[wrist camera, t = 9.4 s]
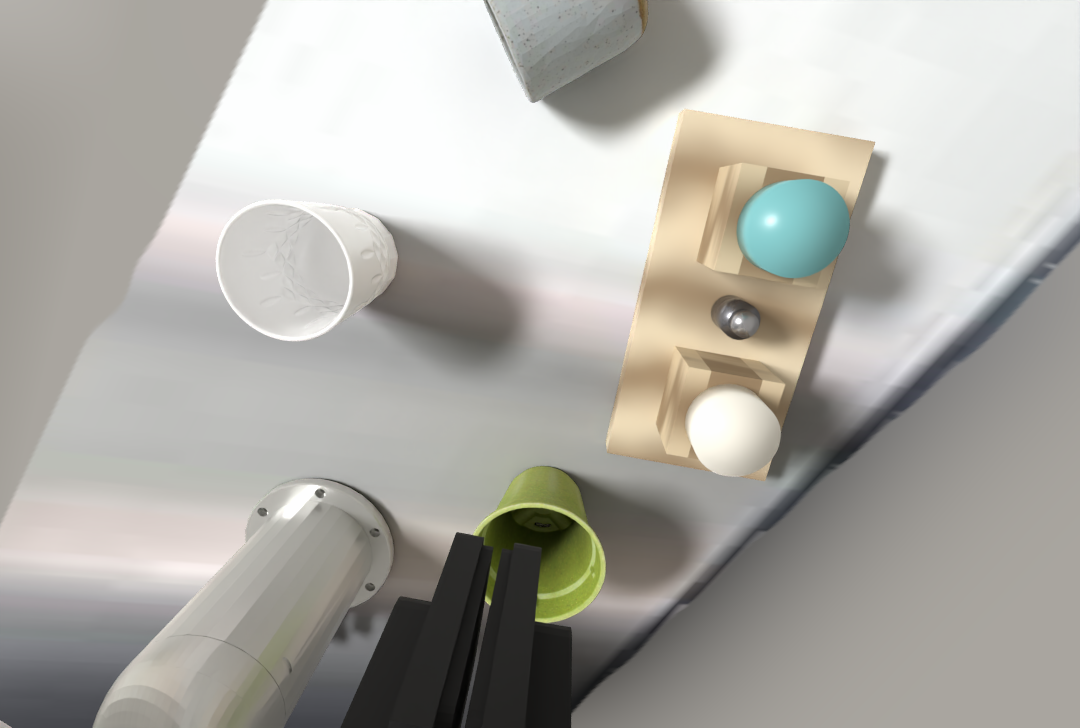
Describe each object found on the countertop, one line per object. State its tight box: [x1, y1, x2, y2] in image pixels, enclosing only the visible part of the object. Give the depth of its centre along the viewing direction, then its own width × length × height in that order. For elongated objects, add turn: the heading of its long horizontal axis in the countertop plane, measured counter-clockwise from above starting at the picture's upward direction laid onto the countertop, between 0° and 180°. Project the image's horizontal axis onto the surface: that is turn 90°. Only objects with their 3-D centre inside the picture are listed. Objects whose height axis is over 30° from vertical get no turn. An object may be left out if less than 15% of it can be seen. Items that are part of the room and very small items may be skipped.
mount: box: [606, 109, 875, 481], centre depth 36 cm, size 24×12×7 cm, turn 170°
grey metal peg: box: [711, 295, 760, 340], centre depth 36 cm, size 2×2×4 cm
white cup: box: [216, 200, 398, 341], centre depth 35 cm, size 8×8×10 cm
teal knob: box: [737, 179, 850, 278], centre depth 32 cm, size 5×5×8 cm
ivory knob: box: [685, 384, 781, 477], centre depth 36 cm, size 5×5×8 cm
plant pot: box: [473, 466, 606, 623], centre depth 41 cm, size 9×9×9 cm
